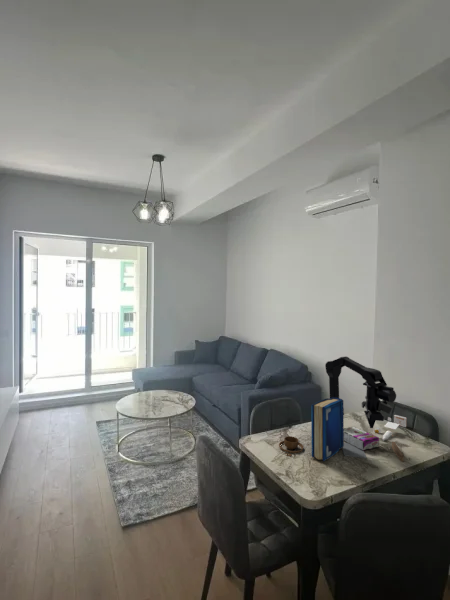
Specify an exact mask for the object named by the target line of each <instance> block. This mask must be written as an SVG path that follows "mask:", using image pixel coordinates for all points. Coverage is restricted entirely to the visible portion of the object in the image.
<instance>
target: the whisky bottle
mask: <svg viewBox="0 0 450 600" xmlns="http://www.w3.org/2000/svg"><path fill="white" fill-rule="evenodd" d="M383 427H384V428H386V429H392V430H395V431H396V430H397V428H398V427H403V428H407V417H405V416H401V415H398V414H394V415H393V422H392V418H391V417H389V416H387V422H386V424H384V426H383ZM381 432H382V430H381V428H380V427H376V428H375V429H374V433H375V434H376V433H377V434H380V433H381ZM392 434H393V432H392V431H391V430H386V432H385V433H383V435H382V441H383V442H385V441H386V440H388V439H390V438H391V436H392Z"/></svg>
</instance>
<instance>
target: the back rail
mask: <svg viewBox="0 0 450 600" xmlns="http://www.w3.org/2000/svg"><path fill="white" fill-rule="evenodd" d="M391 448H392V450H393V451H394V453H395V455H396V457H397V459H398V460H399V461H400V462H401V463H402V462H404V460H405V459H404V454H403V452H402V451H401V449H400V448H399V446H398V445H397V443H396V442H395V441H392V442H391Z"/></svg>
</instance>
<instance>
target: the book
mask: <svg viewBox="0 0 450 600" xmlns="http://www.w3.org/2000/svg"><path fill="white" fill-rule="evenodd" d="M310 406H311V407H310V408H311V409H310V410H311V412H310V414H311V417H310V418H311V430H310V431H311V457H312V458H315V459H317V460H322V462H325V461H327V460H328V459H330V458H332V457H333V456H335V455H336V454H337V453H339V452H340V450H341V449H342V448H343V446H344V443H345V441H344V428H345V426H344V415H343V408H344V400H343V399H342V398H340V397H339V398H334V397H332V398H330V397H329V398H323V399H321V400H318V401H316V402H314V403H312V404H311V405H310Z"/></svg>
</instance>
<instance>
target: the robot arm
mask: <svg viewBox="0 0 450 600" xmlns="http://www.w3.org/2000/svg"><path fill="white" fill-rule="evenodd" d="M344 367H347V368H348V369H350V370H352V371H353V372H355V373H357V374H358V375H360V376H361V377H362V379H363V380H364V381H365V382H363V383H362V385H363V386H366V393H365V394H366V395H365V397H364V398H365V400H364V401H362V402H361V408H362V409H364V408H365V410H364V411H363V412H364V415H365V418H366V420H367V423H368V425H369V429H373V428H374V426H375V424H376V421H379V422H384V421H385V416H384V414H383V413H382V412H385V413H386V414H388V415H390V414H391V412H392V411H393V407H392V406H391V405H390V404H388V403H391V404H392V403H393V404H394V402H395V401H396V399H397V392H395V390H394V388H395V387H392V386H388V383H387V382H386V381H385V377H384V376H383V374H382V371H380V370H378V369H376V368H373V367H372V368H371V367H367V366H365V365H362V363H359V362H357V361H355V360H353V359H351V358H350V357H348V356H341V357H338V358H336V359H333V360H330V361H329V360H328V361H326V363H325V372H326V374H327V376H328V378H329V379H328V381H329V382H328V383H329V384H328V385H329V389H328V390H329V399H330V398H332V397H334V398H340V385H339V383H340V382H339V381H340V380H339V377H340V376H341V373H342V368H344ZM344 410H345V408H344V407H343V416H344V415H345V411H344ZM381 411H382V412H381Z"/></svg>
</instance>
